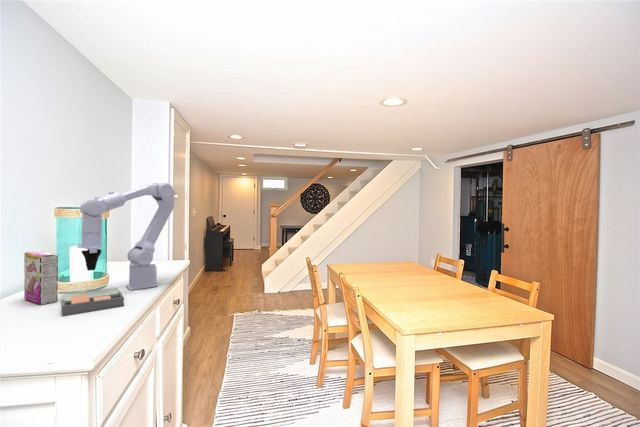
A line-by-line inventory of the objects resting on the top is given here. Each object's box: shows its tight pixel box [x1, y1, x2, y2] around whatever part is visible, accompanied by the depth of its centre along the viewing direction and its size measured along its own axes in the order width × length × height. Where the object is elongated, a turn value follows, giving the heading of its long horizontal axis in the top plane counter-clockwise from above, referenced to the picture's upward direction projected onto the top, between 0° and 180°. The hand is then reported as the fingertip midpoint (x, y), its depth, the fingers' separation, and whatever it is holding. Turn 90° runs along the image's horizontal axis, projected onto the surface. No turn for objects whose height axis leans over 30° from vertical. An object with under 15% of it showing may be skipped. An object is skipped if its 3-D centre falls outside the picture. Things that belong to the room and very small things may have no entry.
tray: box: [61, 290, 125, 317], centre depth 96 cm, size 16×8×3 cm, turn 132°
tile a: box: [93, 295, 111, 301], centre depth 98 cm, size 4×4×2 cm
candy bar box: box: [23, 250, 59, 306], centre depth 100 cm, size 11×5×16 cm, turn 65°
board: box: [61, 287, 121, 303], centre depth 103 cm, size 16×8×2 cm, turn 132°
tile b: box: [71, 294, 90, 304], centre depth 95 cm, size 4×4×2 cm
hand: (91, 269), depth 107 cm, fingers closed
